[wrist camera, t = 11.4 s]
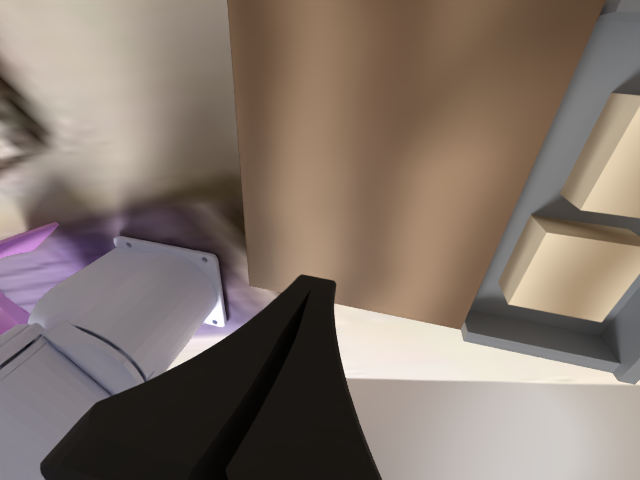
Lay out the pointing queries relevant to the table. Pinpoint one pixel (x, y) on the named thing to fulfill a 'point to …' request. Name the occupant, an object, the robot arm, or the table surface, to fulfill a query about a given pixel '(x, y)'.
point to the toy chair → (3, 311)
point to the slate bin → (570, 217)
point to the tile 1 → (571, 267)
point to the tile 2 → (609, 162)
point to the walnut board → (393, 138)
